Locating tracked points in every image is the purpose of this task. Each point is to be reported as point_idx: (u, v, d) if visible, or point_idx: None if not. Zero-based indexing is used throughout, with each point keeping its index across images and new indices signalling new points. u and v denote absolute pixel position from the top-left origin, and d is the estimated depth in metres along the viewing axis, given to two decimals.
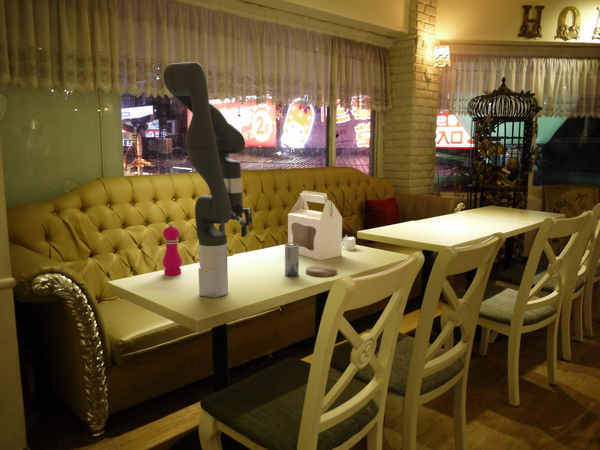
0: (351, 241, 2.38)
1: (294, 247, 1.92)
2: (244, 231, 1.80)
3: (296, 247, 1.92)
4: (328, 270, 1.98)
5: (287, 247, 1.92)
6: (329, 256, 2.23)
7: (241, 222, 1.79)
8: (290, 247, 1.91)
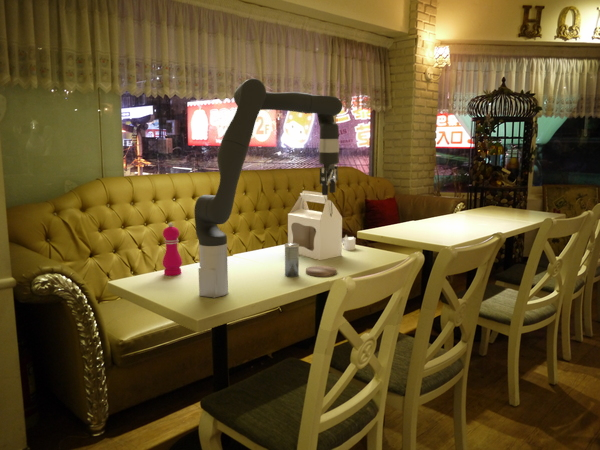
0: (351, 241, 2.38)
1: (294, 247, 1.92)
2: (334, 187, 2.01)
3: (296, 247, 1.92)
4: (328, 270, 1.98)
5: (287, 247, 1.92)
6: (329, 256, 2.23)
7: (335, 179, 1.99)
8: (290, 247, 1.91)
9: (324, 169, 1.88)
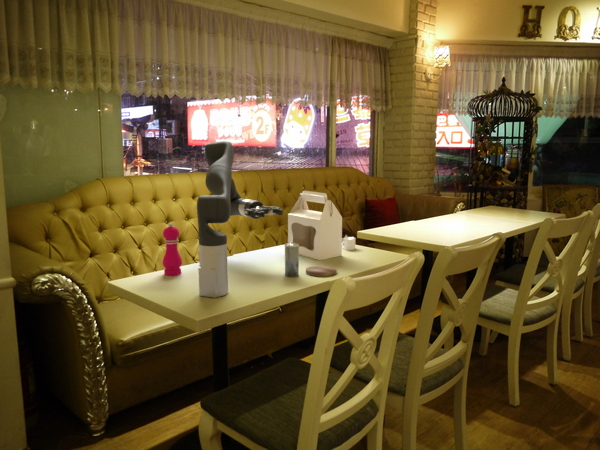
0: (351, 241, 2.38)
1: (294, 247, 1.92)
2: (259, 215, 2.02)
3: (296, 247, 1.92)
4: (328, 270, 1.98)
5: (287, 247, 1.92)
6: (329, 256, 2.23)
7: None
8: (290, 247, 1.91)
9: None
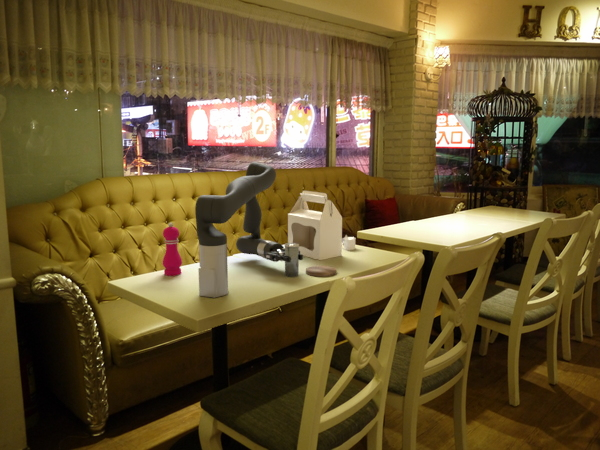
0: (351, 241, 2.38)
1: (294, 247, 1.92)
2: (284, 260, 1.92)
3: (296, 247, 1.92)
4: (328, 270, 1.98)
5: (287, 247, 1.92)
6: (329, 256, 2.23)
7: None
8: (290, 247, 1.91)
9: None
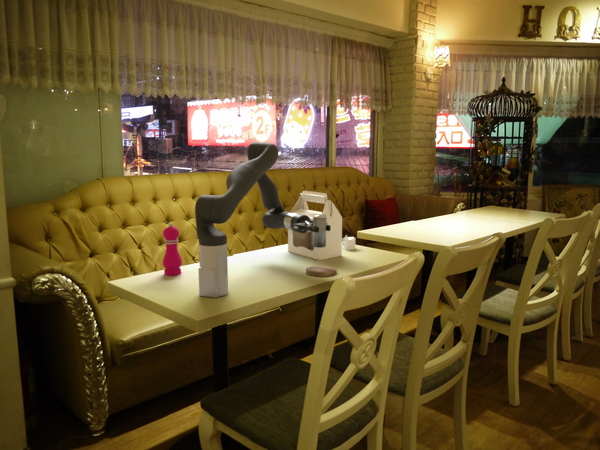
0: (351, 241, 2.38)
1: (322, 218, 1.93)
2: (313, 230, 1.94)
3: (324, 218, 1.94)
4: (328, 270, 1.98)
5: (315, 218, 1.94)
6: (329, 256, 2.23)
7: None
8: (318, 218, 1.93)
9: None
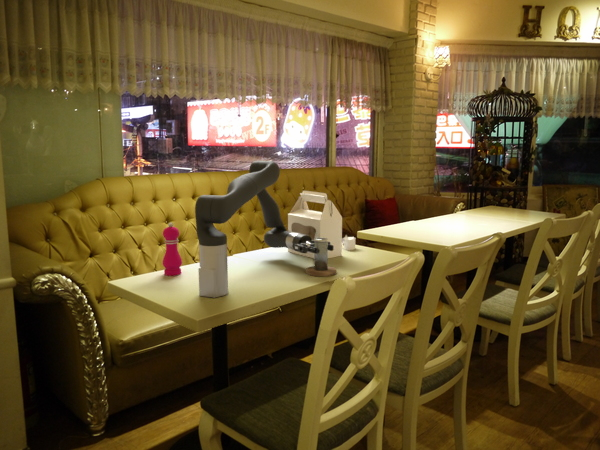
0: (351, 241, 2.38)
1: (323, 241, 1.95)
2: (312, 251, 1.95)
3: (325, 241, 1.96)
4: (328, 270, 1.98)
5: (317, 242, 1.96)
6: (329, 256, 2.23)
7: None
8: (320, 241, 1.95)
9: None
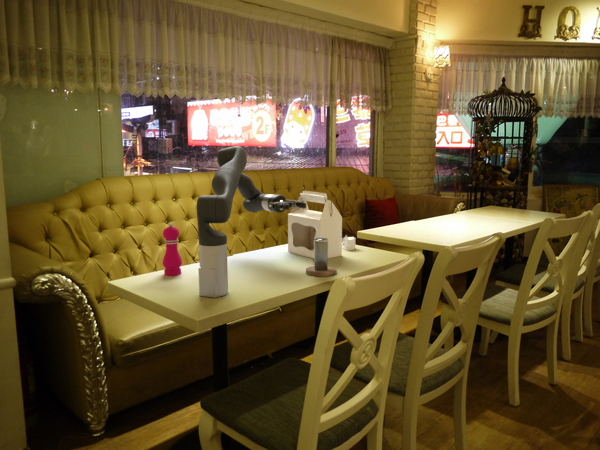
0: (351, 241, 2.38)
1: (324, 242, 1.95)
2: None
3: (326, 242, 1.96)
4: (328, 270, 1.98)
5: (317, 242, 1.96)
6: (329, 256, 2.23)
7: (280, 208, 2.08)
8: (320, 242, 1.95)
9: None
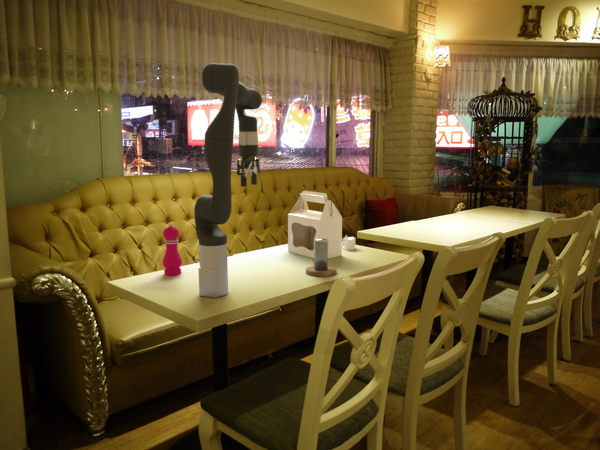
0: (351, 241, 2.38)
1: (324, 242, 1.95)
2: None
3: (326, 242, 1.96)
4: (328, 270, 1.98)
5: (317, 242, 1.96)
6: (329, 256, 2.23)
7: None
8: (320, 242, 1.95)
9: None
